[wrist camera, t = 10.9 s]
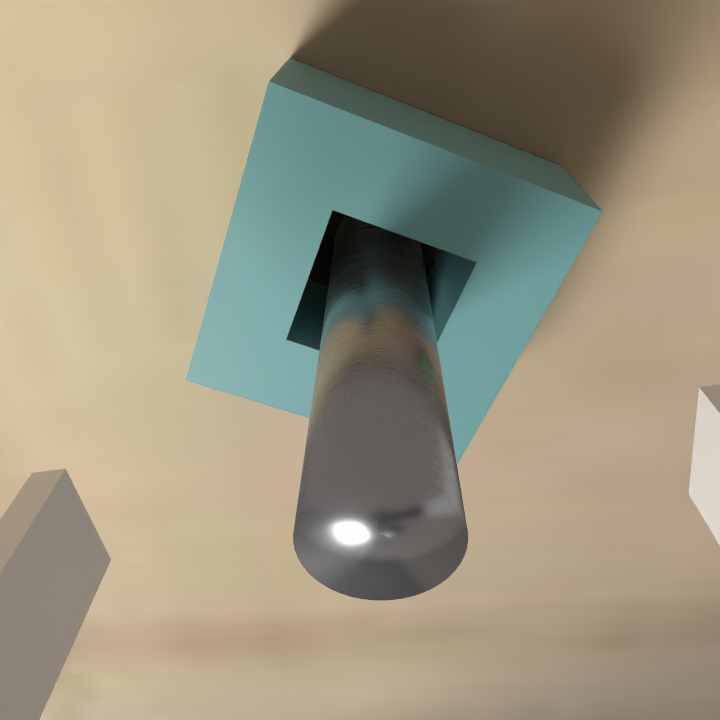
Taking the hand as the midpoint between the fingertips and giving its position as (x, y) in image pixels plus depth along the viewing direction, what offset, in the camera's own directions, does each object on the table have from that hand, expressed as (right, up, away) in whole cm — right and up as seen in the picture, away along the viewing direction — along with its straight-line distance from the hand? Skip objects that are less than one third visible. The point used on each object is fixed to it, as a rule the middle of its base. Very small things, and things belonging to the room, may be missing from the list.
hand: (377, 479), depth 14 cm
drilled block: (0, +7, +11) cm, 13 cm away
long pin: (0, +7, +11) cm, 13 cm away
